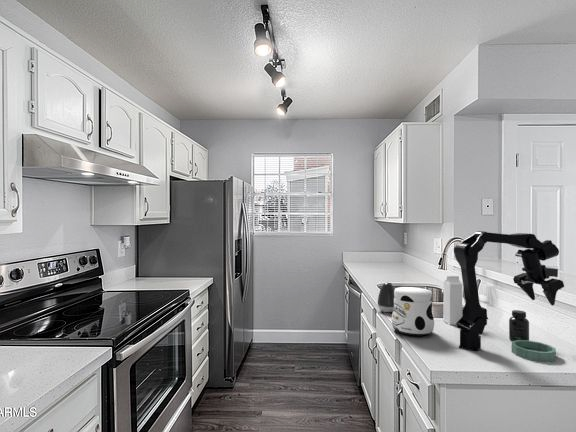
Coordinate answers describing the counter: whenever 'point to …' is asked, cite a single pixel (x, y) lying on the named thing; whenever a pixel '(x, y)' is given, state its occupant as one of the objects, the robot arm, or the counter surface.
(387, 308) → the black canister
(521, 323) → the supplement bottle
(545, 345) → the cup
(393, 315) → the milk container
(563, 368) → the counter surface
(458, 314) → the milk
